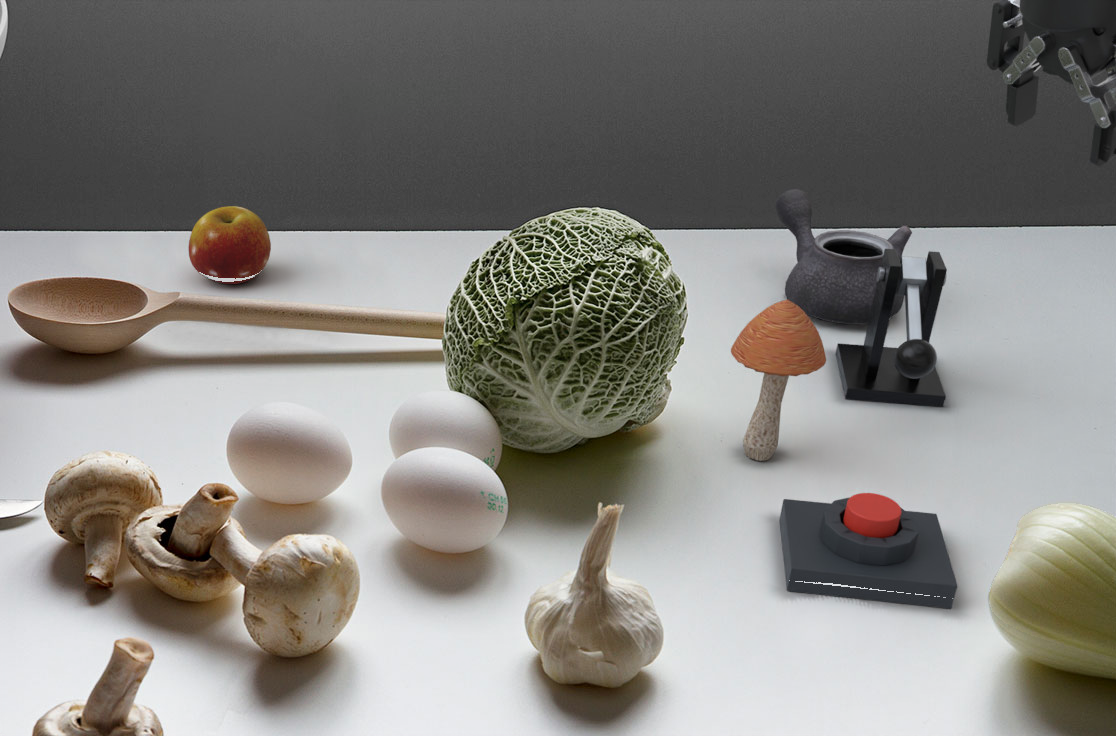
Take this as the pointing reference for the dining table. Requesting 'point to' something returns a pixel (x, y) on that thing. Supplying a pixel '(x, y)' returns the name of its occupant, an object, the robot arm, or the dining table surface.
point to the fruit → (229, 244)
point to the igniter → (872, 515)
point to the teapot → (834, 265)
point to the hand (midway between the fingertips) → (1061, 140)
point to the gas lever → (913, 322)
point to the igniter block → (865, 556)
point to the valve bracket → (873, 365)
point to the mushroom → (776, 366)
